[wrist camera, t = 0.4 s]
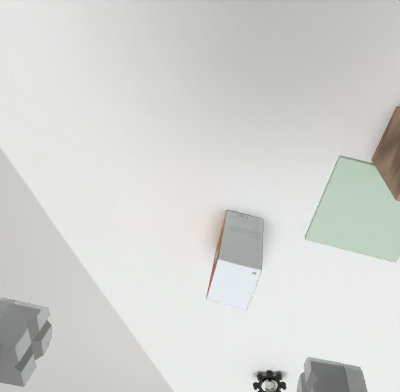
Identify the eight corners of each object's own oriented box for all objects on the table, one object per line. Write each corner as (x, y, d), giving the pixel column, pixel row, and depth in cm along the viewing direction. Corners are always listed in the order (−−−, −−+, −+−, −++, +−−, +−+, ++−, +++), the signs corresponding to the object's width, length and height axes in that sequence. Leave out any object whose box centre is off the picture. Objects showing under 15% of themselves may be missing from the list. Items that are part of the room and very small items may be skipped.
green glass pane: (339, 155, 55) (340, 157, 54) (442, 181, 54) (443, 182, 54) (304, 237, 62) (305, 239, 62) (394, 260, 62) (395, 262, 61)
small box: (226, 209, 62) (217, 258, 51) (264, 218, 62) (263, 270, 51) (215, 247, 66) (205, 300, 55) (251, 256, 66) (247, 312, 55)
